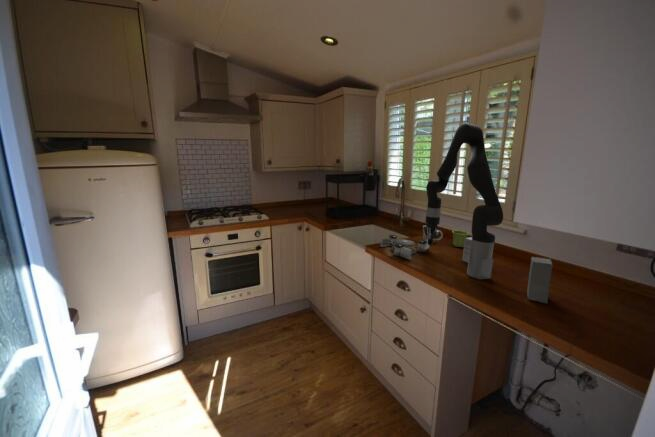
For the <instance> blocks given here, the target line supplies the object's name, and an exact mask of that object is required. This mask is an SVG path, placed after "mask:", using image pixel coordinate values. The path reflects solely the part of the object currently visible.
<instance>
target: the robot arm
mask: <svg viewBox="0 0 655 437" xmlns="http://www.w3.org/2000/svg"><path fill="white" fill-rule="evenodd" d="M484 138H485V137H484V132H483V129H482V127H480V126H479V125H477V124H476V125H475V124H471V123H467V122H464V123H461V124H460V125H459V126H458V127H457V129H456V131H455V132H454V135H453V137H452V141H451V142H450V145H449V147H448V150H447V153H446V156H445V157H444V160H443V161H442V162H441V164H440V166H439V168H438V170H437V171H436V176H437V177H438V178H437V179H431V180H429V181H428V182H427V184H426V197H427V207H426V212H425V224H426V225H427V226H426V227H424V230H425V234H426V236H427V237H428V245H429V246H433V244H434V241H433V239H438V237H439V235H441V234H440V232H438V231H437V230H438V225H440V222H441V212H442V211H441V207H442V198H441V197H439V196H438V194H439V193H442V192H444V191H445V190H446V189H447V186H448V185H449V184H448V183H449V181H450V177H451V176H452V174H453V173H454V171H455V169H456V167H457V164H458V154H459V150H460V148H461V147H462V145H463V144H467V145H468V146H469V149H470V153H471V154H470V159H469V161H468V163H467V170H466V171H467V175H468V179H469V182H470V184H471V185H472V187H473V188H474V189H475V190H476V191H477V193H479V195H480V196H481V197H482V199H483V202H484V204H480V205H477V206H475V208H474V210H473V213H472V222H471V237H472V241H471V247H470V254H469V261H468V263H467V269H466V274H467V276H469V277H470V278H474V279H477V280H490V279H491V278H492V271H493V264H494V258H493V253H494V247H495V240H496V235H495V234H494V233H492V232H488V227H489V226H490V227H491V226H494V227H495V226H499V225H501V224H502V223H503V220H504V212H503V208H502V205H501V203H500V200H499V198H498V195H497V192H496V189H495V184H494V182H493V177H492V173H491V172H492V171H491V168H490V165H489V161H488V157H487V152H486V147H485V139H484Z"/></svg>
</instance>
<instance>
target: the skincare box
mask: <svg viewBox="0 0 655 437" xmlns="http://www.w3.org/2000/svg"><path fill="white" fill-rule="evenodd" d="M553 264H554V263H553V262H552V259H551V258H543V257H537V256H531V258H530V266H529V274H528V282H527V289H526V291H527V292H526V294H527V300H530V301H534V302H540V303H543V304H548V301H549V300H548V299H549V294H550V285H551V278H552V271H553V266H554V265H553Z"/></svg>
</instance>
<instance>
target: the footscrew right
mask: <svg viewBox="0 0 655 437" xmlns="http://www.w3.org/2000/svg"><path fill="white" fill-rule="evenodd" d="M429 248H430V245H428V239H427V240H423V239H418V241H417V252H420V253H425V252H426V251H427V250H428V249H429Z"/></svg>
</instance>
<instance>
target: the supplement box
mask: <svg viewBox="0 0 655 437" xmlns="http://www.w3.org/2000/svg"><path fill="white" fill-rule="evenodd" d="M471 241H472V236H471V237H467V238H465V243H464V247H463V251H462V258H461V260H462V261H463V262H465V263H467V264H468V261H469V254H470V247H471Z"/></svg>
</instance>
